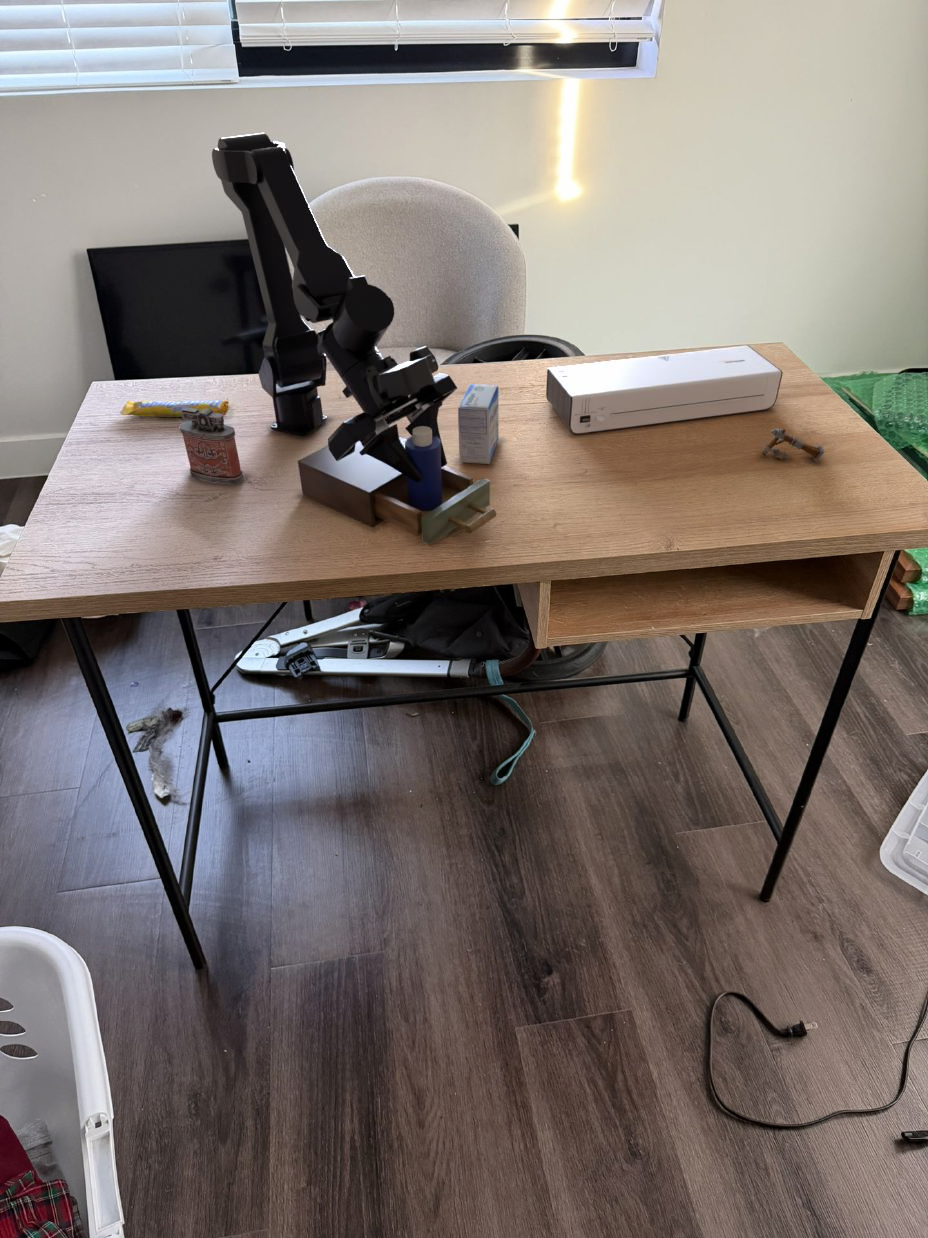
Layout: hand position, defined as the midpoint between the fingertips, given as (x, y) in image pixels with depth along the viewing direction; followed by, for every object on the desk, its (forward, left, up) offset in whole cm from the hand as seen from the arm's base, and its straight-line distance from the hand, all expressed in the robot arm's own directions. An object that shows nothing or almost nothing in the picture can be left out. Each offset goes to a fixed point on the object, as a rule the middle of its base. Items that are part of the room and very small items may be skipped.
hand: (432, 473), depth 107 cm
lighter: (-33, -2, -7) cm, 34 cm away
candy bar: (-51, +12, -7) cm, 53 cm away
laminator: (+19, +43, -7) cm, 47 cm away
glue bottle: (-1, 0, -5) cm, 5 cm away
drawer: (0, 0, -6) cm, 6 cm away
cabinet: (-11, +3, -7) cm, 13 cm away
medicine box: (-2, +19, -7) cm, 20 cm away
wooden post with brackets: (+40, +34, -7) cm, 53 cm away
